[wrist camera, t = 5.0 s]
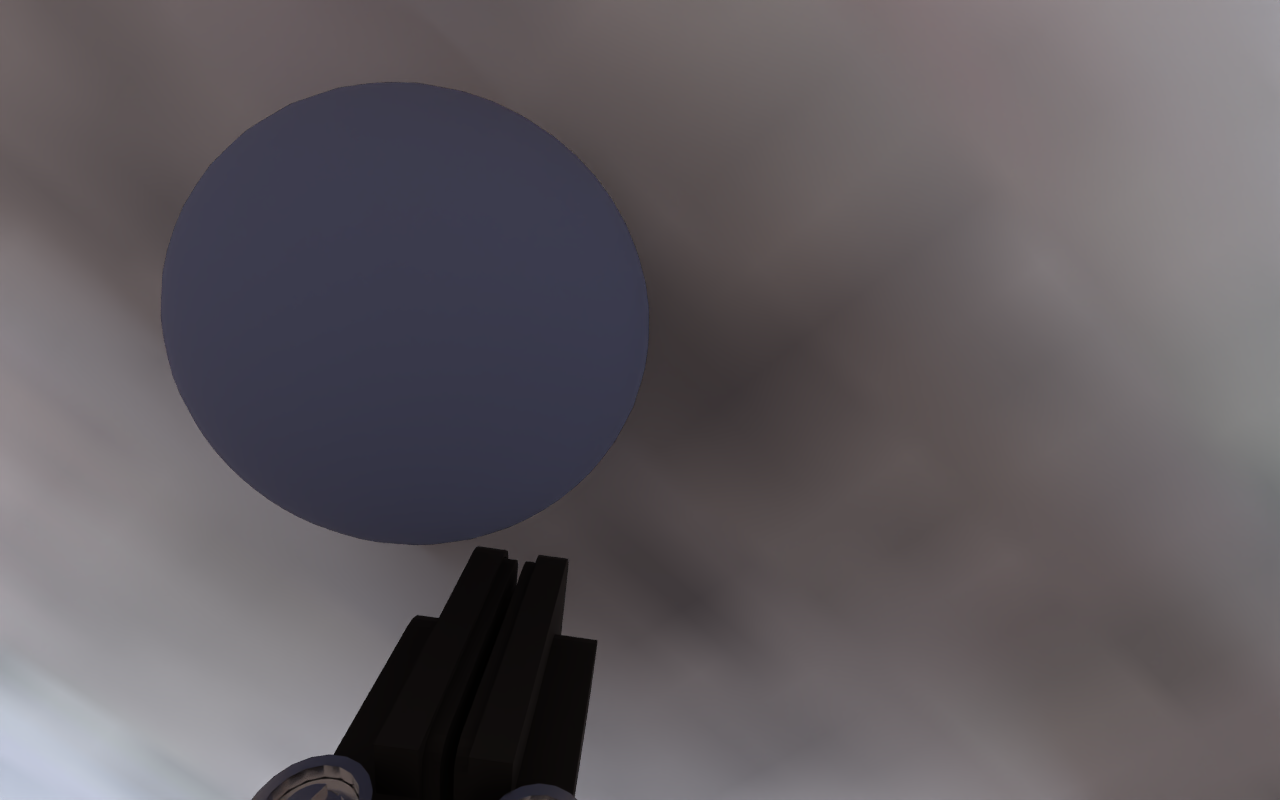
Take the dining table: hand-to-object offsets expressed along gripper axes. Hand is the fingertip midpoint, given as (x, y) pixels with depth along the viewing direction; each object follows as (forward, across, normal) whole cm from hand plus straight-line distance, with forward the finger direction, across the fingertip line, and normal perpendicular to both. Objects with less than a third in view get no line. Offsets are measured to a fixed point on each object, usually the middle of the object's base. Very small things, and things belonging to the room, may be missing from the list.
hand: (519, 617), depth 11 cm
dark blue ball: (-1, +1, -6) cm, 6 cm away
